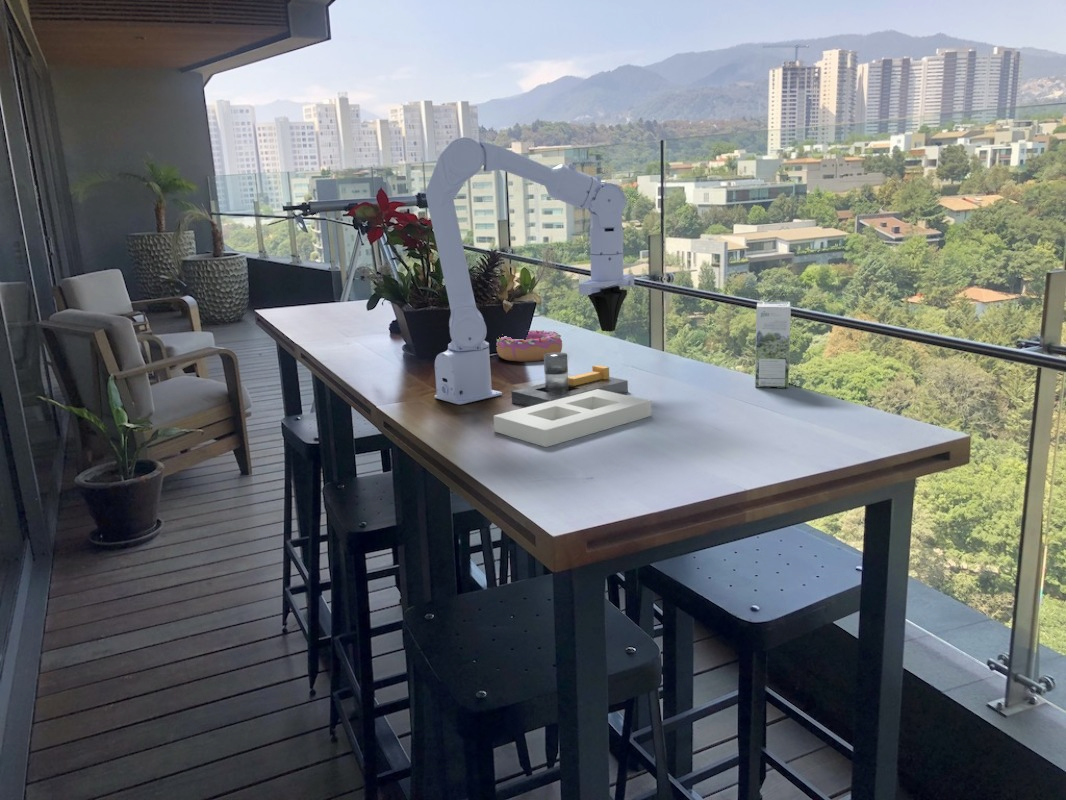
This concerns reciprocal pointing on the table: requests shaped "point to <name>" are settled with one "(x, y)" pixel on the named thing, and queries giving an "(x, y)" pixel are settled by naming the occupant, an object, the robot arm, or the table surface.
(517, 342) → the donut
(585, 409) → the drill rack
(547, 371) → the brushed steel cylinder
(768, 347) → the syrup box
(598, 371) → the bar
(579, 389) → the dark grey socket tray
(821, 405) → the table surface
